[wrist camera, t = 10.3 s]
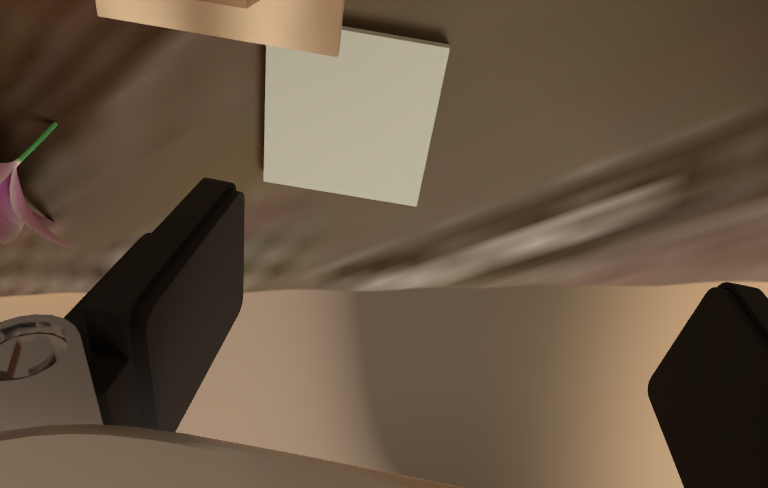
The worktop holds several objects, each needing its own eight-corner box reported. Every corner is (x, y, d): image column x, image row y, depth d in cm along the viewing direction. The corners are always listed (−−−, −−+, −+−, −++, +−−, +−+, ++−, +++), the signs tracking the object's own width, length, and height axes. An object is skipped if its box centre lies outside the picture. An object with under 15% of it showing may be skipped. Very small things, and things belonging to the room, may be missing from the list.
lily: (-68, 65, 36) (-189, 167, 32) (21, 49, 30) (-110, 171, 26) (69, 181, 45) (-10, 274, 40) (158, 185, 39) (78, 294, 35)
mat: (449, 44, 32) (449, 48, 31) (416, 199, 38) (416, 206, 37) (270, 13, 32) (266, 16, 31) (267, 175, 38) (263, 181, 37)
